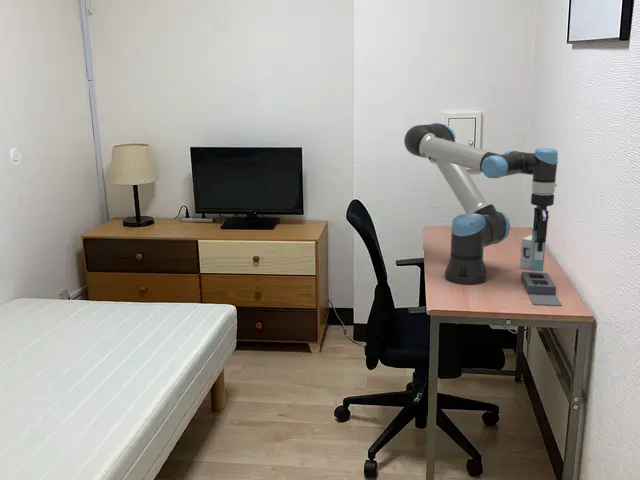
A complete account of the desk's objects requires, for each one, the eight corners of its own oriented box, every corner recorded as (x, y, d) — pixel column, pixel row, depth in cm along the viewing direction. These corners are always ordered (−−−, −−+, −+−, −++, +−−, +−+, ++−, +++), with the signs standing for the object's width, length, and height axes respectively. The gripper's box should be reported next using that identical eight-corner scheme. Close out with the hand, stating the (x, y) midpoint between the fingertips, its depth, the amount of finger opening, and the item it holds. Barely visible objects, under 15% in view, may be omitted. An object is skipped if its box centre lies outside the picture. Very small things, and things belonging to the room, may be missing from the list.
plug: (543, 271, 225) (546, 233, 222) (530, 271, 226) (534, 232, 222) (541, 268, 229) (544, 230, 226) (529, 267, 230) (532, 229, 226)
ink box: (529, 262, 254) (531, 234, 251) (541, 265, 251) (543, 236, 248) (519, 267, 248) (521, 238, 245) (531, 270, 245) (533, 240, 242)
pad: (561, 306, 207) (562, 305, 206) (533, 304, 208) (533, 303, 208) (556, 296, 215) (556, 295, 215) (528, 295, 216) (528, 294, 216)
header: (555, 295, 217) (556, 287, 216) (528, 294, 218) (528, 285, 217) (546, 280, 232) (547, 272, 231) (521, 279, 233) (521, 271, 232)
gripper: (559, 198, 212) (552, 265, 218) (549, 189, 228) (543, 251, 234) (535, 197, 213) (530, 264, 219) (527, 188, 229) (522, 250, 235)
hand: (537, 257), depth 227 cm, fingers closed on plug, 4 cm apart
